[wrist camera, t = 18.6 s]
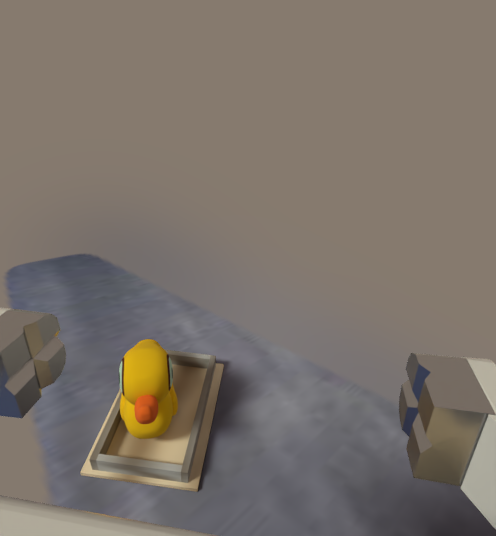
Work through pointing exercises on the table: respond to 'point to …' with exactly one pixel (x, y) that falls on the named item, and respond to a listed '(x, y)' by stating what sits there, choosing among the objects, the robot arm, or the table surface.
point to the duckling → (147, 390)
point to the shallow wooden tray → (171, 441)
